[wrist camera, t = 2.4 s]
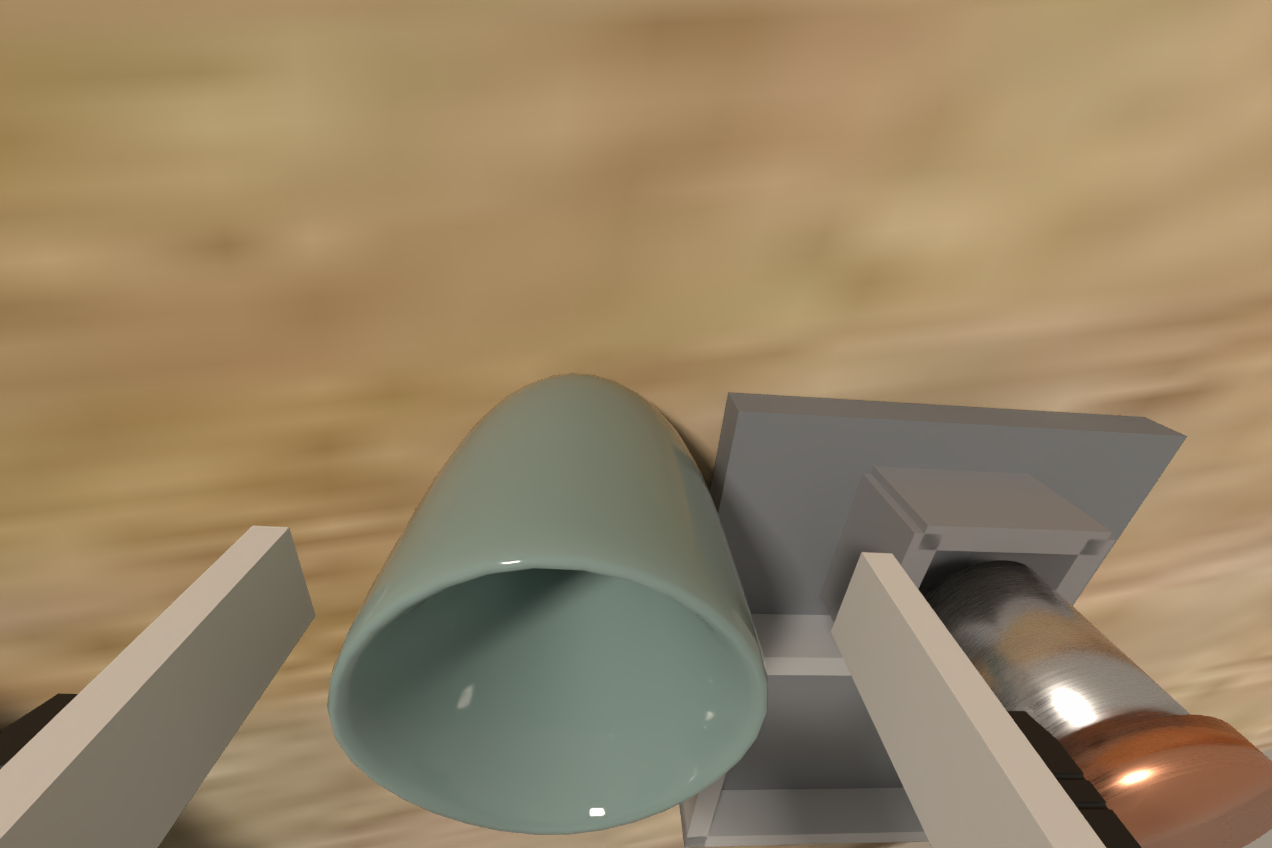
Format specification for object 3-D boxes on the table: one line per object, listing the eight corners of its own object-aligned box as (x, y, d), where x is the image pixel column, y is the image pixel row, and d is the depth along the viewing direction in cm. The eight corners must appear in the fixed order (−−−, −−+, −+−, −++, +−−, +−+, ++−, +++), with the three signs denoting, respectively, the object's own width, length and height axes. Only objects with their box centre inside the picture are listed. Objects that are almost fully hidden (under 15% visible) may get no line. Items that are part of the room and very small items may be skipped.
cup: (571, 293, 15) (520, 462, 6) (731, 443, 18) (856, 709, 9) (426, 452, 17) (235, 743, 8) (588, 563, 20) (573, 871, 11)
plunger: (883, 657, 16) (1016, 888, 11) (934, 547, 14) (1129, 768, 9) (1014, 659, 17) (1203, 881, 12) (1083, 552, 15) (1354, 765, 9)
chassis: (657, 770, 27) (667, 879, 23) (728, 392, 17) (768, 463, 13) (927, 768, 29) (982, 869, 24) (1144, 417, 18) (1304, 488, 14)
